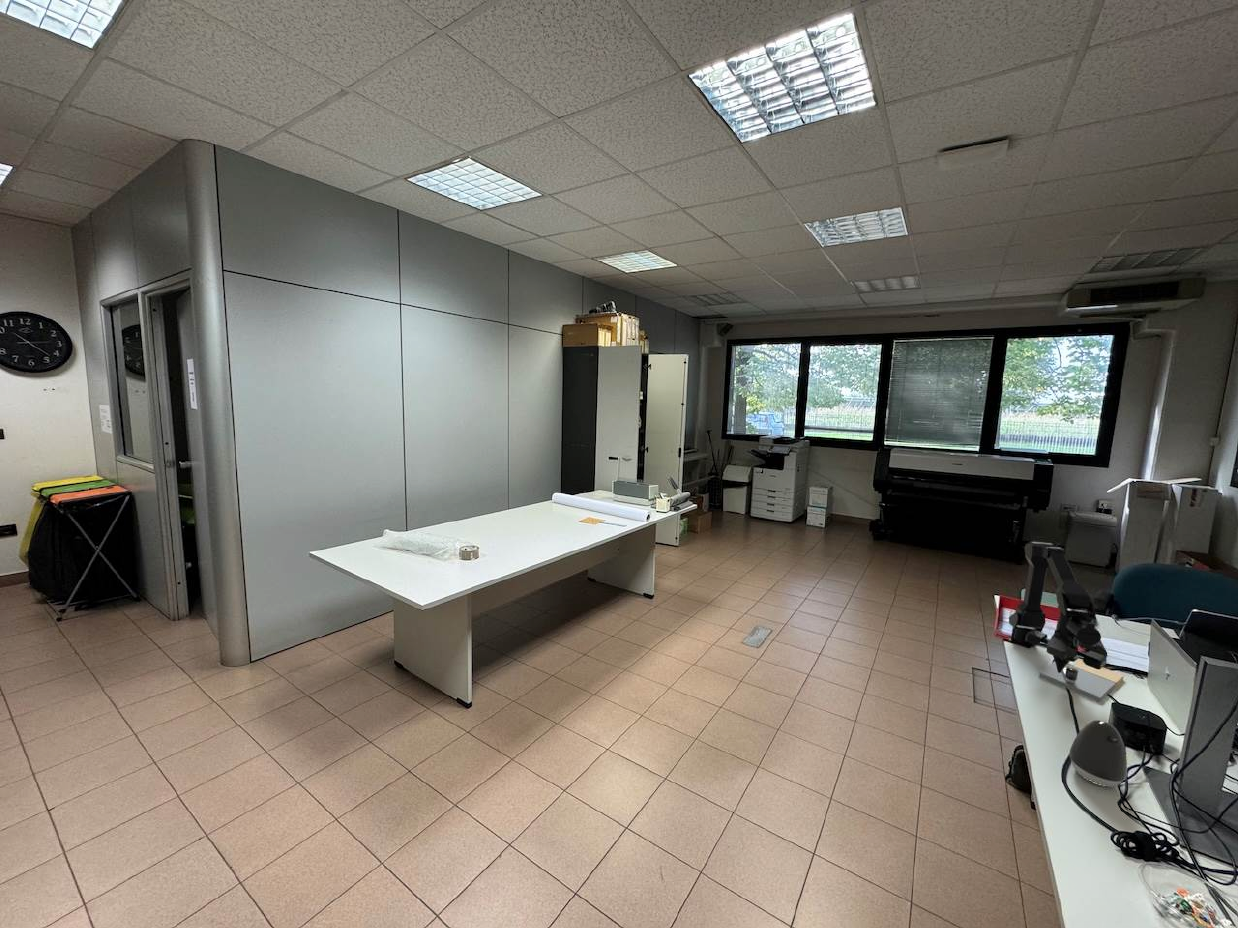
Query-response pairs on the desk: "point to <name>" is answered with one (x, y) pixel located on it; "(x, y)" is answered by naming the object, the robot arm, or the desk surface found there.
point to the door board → (1085, 679)
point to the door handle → (1070, 673)
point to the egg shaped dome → (1099, 754)
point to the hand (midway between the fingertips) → (1059, 672)
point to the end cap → (1094, 648)
